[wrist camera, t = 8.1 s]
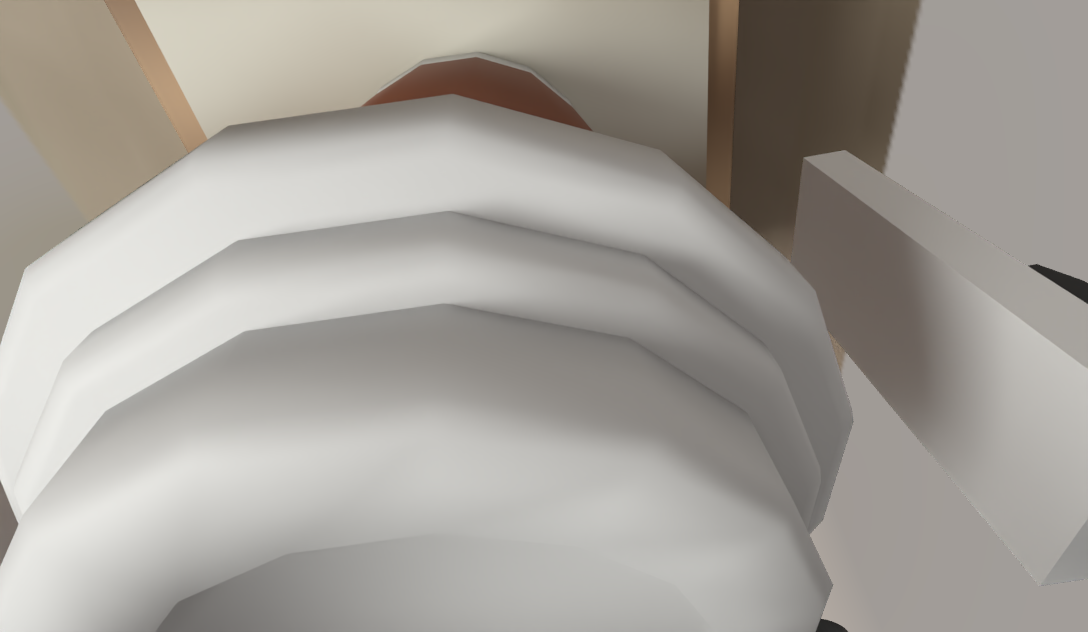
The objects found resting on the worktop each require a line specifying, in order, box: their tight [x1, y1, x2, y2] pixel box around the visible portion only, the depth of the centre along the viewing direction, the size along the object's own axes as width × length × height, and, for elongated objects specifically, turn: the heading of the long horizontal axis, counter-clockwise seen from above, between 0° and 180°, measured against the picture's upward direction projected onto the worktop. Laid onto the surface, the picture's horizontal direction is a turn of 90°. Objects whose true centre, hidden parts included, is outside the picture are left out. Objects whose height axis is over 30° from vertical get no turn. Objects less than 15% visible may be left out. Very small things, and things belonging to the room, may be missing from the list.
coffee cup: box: [0, 52, 853, 632], centre depth 10 cm, size 9×9×12 cm
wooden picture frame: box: [104, 0, 739, 209], centre depth 17 cm, size 14×14×6 cm
